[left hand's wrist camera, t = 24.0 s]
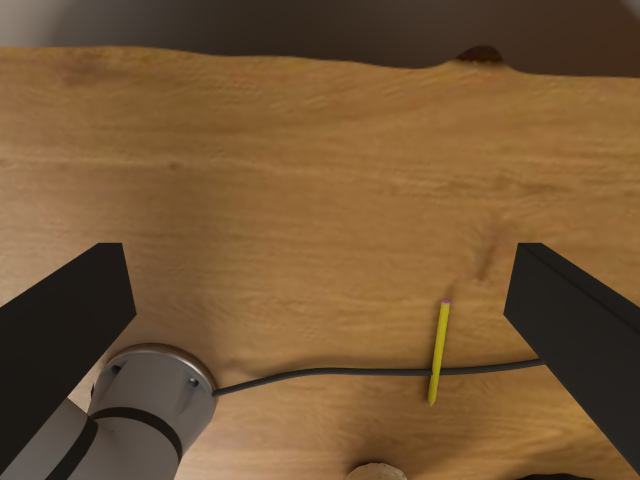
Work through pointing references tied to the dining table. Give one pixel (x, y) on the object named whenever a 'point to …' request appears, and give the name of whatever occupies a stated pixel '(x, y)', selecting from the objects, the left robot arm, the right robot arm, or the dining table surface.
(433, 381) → the pencil
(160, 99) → the dining table surface
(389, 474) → the bowl
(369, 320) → the dining table surface
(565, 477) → the sign
